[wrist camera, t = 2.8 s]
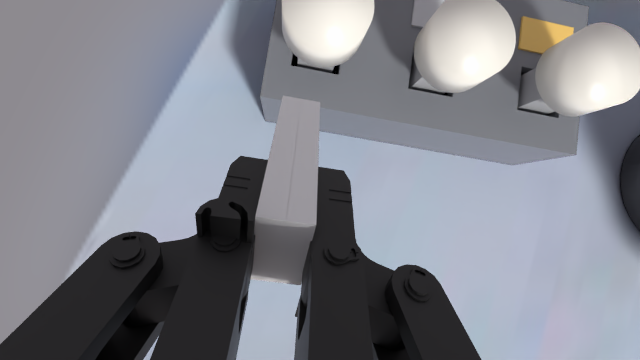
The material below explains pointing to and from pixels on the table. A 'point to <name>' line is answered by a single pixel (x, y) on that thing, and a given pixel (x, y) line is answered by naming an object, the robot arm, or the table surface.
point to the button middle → (462, 46)
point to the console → (428, 108)
